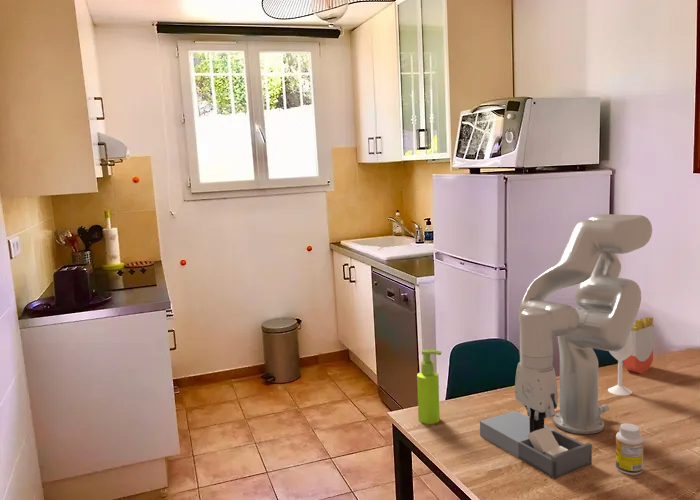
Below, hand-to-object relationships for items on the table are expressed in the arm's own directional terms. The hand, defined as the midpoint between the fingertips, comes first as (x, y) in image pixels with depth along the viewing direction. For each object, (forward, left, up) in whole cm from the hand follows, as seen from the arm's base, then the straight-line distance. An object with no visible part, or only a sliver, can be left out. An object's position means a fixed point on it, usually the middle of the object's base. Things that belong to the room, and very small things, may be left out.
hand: (537, 432), depth 139 cm
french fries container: (-68, -23, -5) cm, 72 cm away
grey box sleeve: (0, -7, -5) cm, 9 cm away
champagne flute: (-48, -14, -5) cm, 50 cm away
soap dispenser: (+11, -29, -5) cm, 32 cm away
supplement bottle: (-11, +17, -5) cm, 21 cm away
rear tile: (+1, +2, -2) cm, 2 cm away
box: (0, +5, -5) cm, 7 cm away
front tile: (0, +8, -2) cm, 8 cm away
